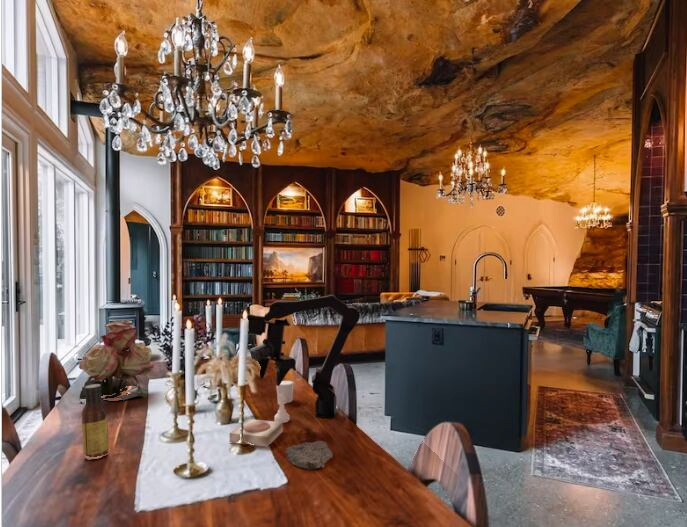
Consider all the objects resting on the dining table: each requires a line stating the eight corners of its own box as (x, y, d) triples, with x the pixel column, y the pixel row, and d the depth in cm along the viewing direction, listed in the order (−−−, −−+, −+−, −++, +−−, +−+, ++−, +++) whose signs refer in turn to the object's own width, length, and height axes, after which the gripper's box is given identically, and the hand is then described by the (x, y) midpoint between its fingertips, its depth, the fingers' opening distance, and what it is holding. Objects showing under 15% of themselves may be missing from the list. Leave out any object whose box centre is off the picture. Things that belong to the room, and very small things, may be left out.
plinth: (282, 431, 145) (282, 421, 145) (266, 447, 133) (266, 436, 133) (248, 428, 148) (247, 418, 148) (229, 443, 136) (229, 432, 136)
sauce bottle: (114, 453, 130) (112, 383, 129) (95, 463, 124) (94, 389, 123) (96, 450, 132) (94, 381, 131) (77, 459, 126) (75, 387, 126)
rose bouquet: (73, 408, 169) (71, 327, 169) (96, 386, 198) (95, 317, 197) (148, 402, 175) (146, 324, 175) (159, 382, 204) (158, 314, 203)
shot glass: (292, 403, 172) (292, 385, 172) (274, 403, 172) (274, 385, 172) (295, 397, 179) (294, 380, 179) (277, 397, 179) (277, 380, 179)
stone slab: (290, 475, 117) (290, 463, 117) (284, 448, 133) (284, 437, 133) (337, 470, 120) (337, 459, 119) (326, 444, 136) (326, 434, 136)
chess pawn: (271, 420, 155) (271, 393, 155) (285, 416, 158) (284, 390, 158) (278, 424, 151) (278, 397, 151) (292, 421, 154) (291, 394, 154)
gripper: (239, 332, 159) (234, 377, 159) (272, 344, 146) (267, 392, 146) (265, 331, 167) (260, 374, 167) (299, 342, 154) (293, 388, 154)
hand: (269, 381), depth 158 cm, fingers open, 9 cm apart
